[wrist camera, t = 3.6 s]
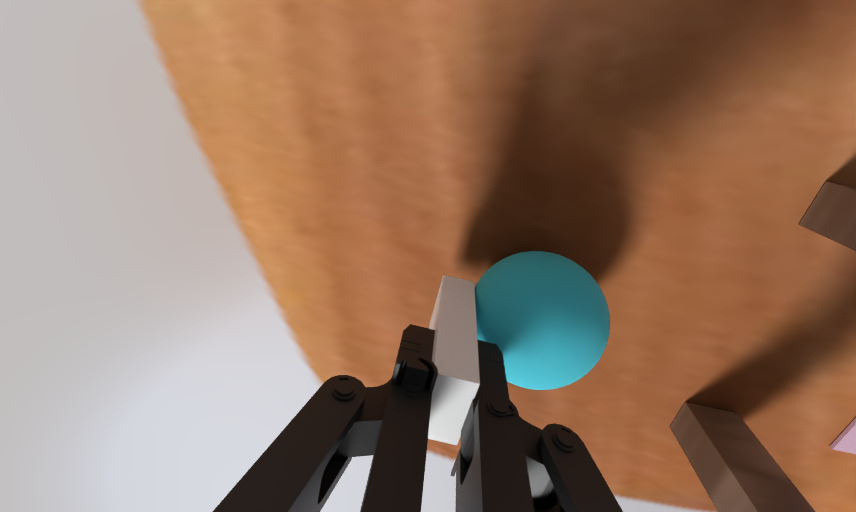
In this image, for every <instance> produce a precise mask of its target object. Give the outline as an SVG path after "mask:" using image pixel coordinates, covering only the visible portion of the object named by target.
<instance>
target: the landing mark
mask: <svg viewBox="0 0 856 512" xmlns="http://www.w3.org/2000/svg"><path fill="white" fill-rule="evenodd" d="M830 447H831V448H832V449H833V450H838V451H843V452H848V453H853V454H856V418H855V419H854V420H853V421H852V422H851V423H850V425H849V426H848V427H847V428H846V429H845V430H844V431H843V432H842V433H841V434H840V436H839V437H838V438H837V439H836V440H835V441H834V442H833V443H832V444H831V445H830Z"/></svg>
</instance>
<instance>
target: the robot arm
mask: <svg viewBox="0 0 856 512" xmlns="http://www.w3.org/2000/svg"><path fill="white" fill-rule="evenodd" d="M460 436H461V448H460V450H459V453H458V455H457V458H456V461H455V463H454V467H453V469H452V472H451V476H454V475H455V472H456V512H623V511H622V509H621V508H620V506H619V504H618V502H617V501H616V499H615V497H614V495H613V494H612V492H611V490H610V488H609V487H608V485H607V483H606V481H605V480H604V478H603V476H602V474H601V473H600V471H599V469H598V467H597V466H596V464H595V462H594V460H593V459H592V457H591V455H590V453H589V452H588V450H587V448H586V446H585V445H584V443H583V441H582V440H581V439H580V438H579V436H578V435H577V434H576V433H574V432H573V431H572V430H571V429H569V428H567V427H565V426H563V425H559V424H549V425H547V426H546V427H545V428H544V429H543V430H541V429H539V428H537V427H535V426H533V425H531V424H529V423H528V422H526V421H525V420H523V419H522V418H521V417H519V414H518V411H517V409H516V407H515V405H514V404H513V403H512V402H511V401H510V400H509V393H508V386H507V379H506V373H505V366H504V359H503V353H502V352H501V350H500V349H499V347H498V346H497V344H494V343H490V342H486V341H482V340H477V323H476V305H475V287H474V282H472V281H468V280H464V279H460V278H456V277H452V276H447V275H443V278H442V281H441V285H440V289H439V292H438V296H437V299H436V303H435V307H434V310H433V314H432V317H431V321H430V326H429V329H428V328H424V327H420V326H415V325H411V324H410V325H409V326H408V327H407V328H406V329H405V330H404V331H403V335H402V339H401V343H400V347H399V351H398V355H397V359H396V363H395V368H394V372H393V376H392V378H391V379H390V380H389V382H387V383H386V384H384V385H381V386H378V387H365V386H364V385H363V383H362V382H361V381H360V380H358V379H356V378H355V377H352V376H348V375H338V376H335V377H331V378H330V379H328V380H327V381H326V382H324V384H323V385H322V386H321V387H320V388H319V389H318V391H317V392H316V393H315V394H314V395H313V397H311V399H310V400H309V401H308V402H307V403H306V405H305V406H304V407H303V408H302V409H301V410H300V411H299V413H298V414H297V415H296V416H295V417H294V418H293V419H292V421H291V422H290V423H289V424H288V425H287V426H286V428H285V429H284V430H283V431H282V432H281V433H280V435H279V436H278V437H277V438H276V439H275V440H274V442H273V443H272V444H271V445H270V446H269V447H268V448H267V450H266V451H265V452H264V453H263V454H262V455H261V456H260V458H259V459H258V460H257V461H256V462H255V463H254V465H253V466H252V467H251V468H250V469H249V470H248V472H247V473H246V474H245V475H244V476H243V477H242V479H241V480H240V481H239V482H238V483H237V484H236V485H235V486H234V488H233V489H232V490H231V491H230V492H229V493H228V495H227V496H226V497H225V498H224V499H223V500H222V502H221V503H220V504H219V505H218V506H217V507H216V508H215V510H214V511H213V512H320V510H321V509H322V507H323V506H324V504H325V502H326V501H327V499H328V497H329V496H330V494H331V492H332V491H333V489H334V487H335V486H336V484H337V482H338V481H339V479H340V478H341V476H342V474H343V473H344V471H345V469H346V467H347V466H348V464H349V462H350V461H351V459H352V457H356V456H367V455H374V456H373V460H372V464H371V469H370V473H369V477H368V481H367V485H366V490H365V494H364V498H363V502H362V506H361V511H360V512H421V502H422V492H423V482H424V472H425V461H426V451H427V441H428V439H432V440H436V441H441V442H445V443H449V444H453V445H457V444H458V441H459V438H460Z"/></svg>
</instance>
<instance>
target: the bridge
mask: <svg viewBox="0 0 856 512" xmlns="http://www.w3.org/2000/svg"><path fill="white" fill-rule="evenodd" d="M799 225H801V226H803V227H805V228H807V229H809V230H812V231H814V232H816V233H818V234H820V235H822V236H825V237H827V238H829V239H831V240H833V241H835V242H838V243H840V244H842V245H844V246H846V247H849V248H851V249H853V250H855V251H856V188H855V187H850V186H845V185H840V184H836V183H831V182H825V184H824V185H823V187H822V188H821V190H820V192H819V193H818V195H817V196H816V198H815V199H814V201H813V203H812V204H811V206H810V207H809V209H808V210H807V212H806V214H805V215H804V217H803V218H802V220H801V221H800V223H799ZM670 428H671V430H672V432H673V434H674V435H675V437H676V439H677V441H678V442H679V444H680V446H681V448H682V449H683V451H684V453H685V455H686V456H687V458H688V460H689V462H690V463H691V465H692V467H693V469H694V470H695V472H696V474H697V476H698V477H699V479H700V481H701V483H702V484H703V486H704V488H705V490H706V491H707V493H708V495H709V497H710V498H711V500H712V502H713V504H714V505H715V507H716V509H717V511H718V512H815V511H814V509H813V508H812V507H811V506H810V504H809V503H808V502H807V501H806V499H805V498H804V497H803V496H802V494H801V493H800V492H799V491H798V489H797V488H796V487H795V485H794V484H793V483H792V482H791V480H790V479H789V478H788V477H787V475H786V474H785V473H784V472H783V470H782V469H781V468H780V467H779V465H778V464H777V463H776V462H775V460H774V459H773V458H772V456H771V455H770V454H769V453H768V451H767V450H766V449H765V448H764V446H763V445H762V444H761V443H760V441H759V440H758V439H757V438H756V436H755V435H754V434H753V433H752V431H751V430H750V429H749V427H748V426H747V425H746V424H745V422H744V421H743V420H742V419H741V417H740V416H739V415H738V414H737V413H735V412H730V411H725V410H720V409H715V408H711V407H706V406H701V405H696V404H691V403H686V402H685V404H684V405H683V407H682V408H681V410H680V411H679V413H678V414H677V416H676V418H675V419H674V421H673V422H672V424H671V425H670Z"/></svg>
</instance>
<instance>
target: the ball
mask: <svg viewBox="0 0 856 512" xmlns="http://www.w3.org/2000/svg"><path fill="white" fill-rule="evenodd" d="M475 305H476V323H477V340H482V341H486V342H490V343H494V344H497V346H498V347H499V349H500V350H501V352H502V353H503V359H504V366H505V373H506V379H507V381H508V382H510V383H512V384H514V385H517V386H520V387H523V388H528V389H535V390H549V389H555V388H560V387H563V386H566V385H569V384H571V383H573V382H575V381H577V380H579V379H580V378H582V377H583V376H584V375H586V374H587V373H588V372H589V371H590V370H591V369H592V368H593V367H594V366H595V365H596V364H597V362H598V361H599V359H600V358H601V356H602V354H603V352H604V350H605V347H606V345H607V341H608V337H609V330H610V316H609V310H608V305H607V302H606V299H605V296H604V295H603V293H602V291H601V289H600V287H599V285H598V284H597V282H596V281H595V280H594V278H593V277H592V276H591V275H590V274H589V273H588V272H587V271H586V270H585V269H584V268H582V267H581V266H580V265H578V264H577V263H575V262H574V261H572V260H570V259H568V258H566V257H564V256H561V255H558V254H555V253H550V252H544V251H528V252H521V253H517V254H513V255H511V256H508V257H506V258H504V259H502V260H500V261H499V262H497V263H496V264H494V265H493V266H492V267H490V268H489V269H488V270H487V271H486V272H485V273H484V275H483V276H482V277H481V278H480V280H479V281H478V283H477V284H476V286H475Z"/></svg>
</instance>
